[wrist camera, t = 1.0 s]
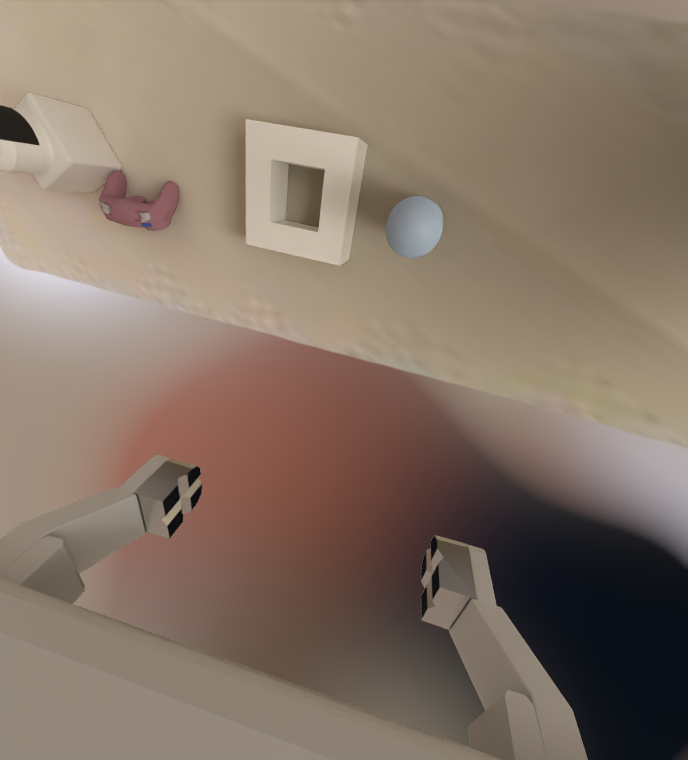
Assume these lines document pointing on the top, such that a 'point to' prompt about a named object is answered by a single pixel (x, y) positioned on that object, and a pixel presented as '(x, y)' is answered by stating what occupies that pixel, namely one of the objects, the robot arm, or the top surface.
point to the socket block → (270, 184)
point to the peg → (414, 226)
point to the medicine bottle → (55, 145)
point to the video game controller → (137, 204)
